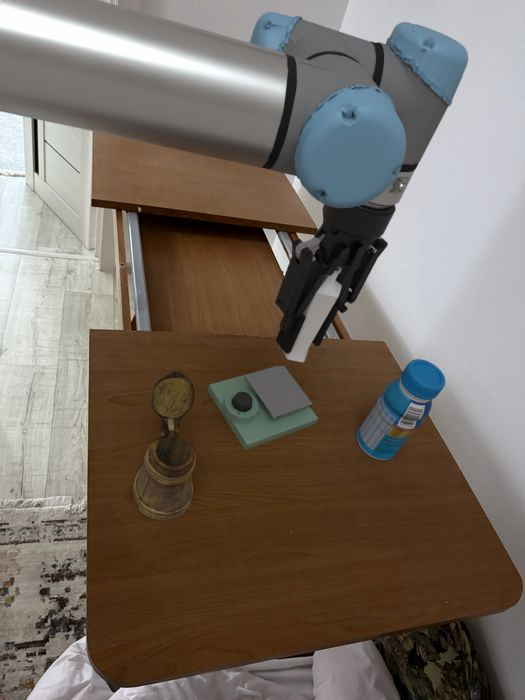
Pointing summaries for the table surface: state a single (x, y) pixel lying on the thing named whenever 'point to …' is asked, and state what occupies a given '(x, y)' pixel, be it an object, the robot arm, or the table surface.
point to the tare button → (242, 401)
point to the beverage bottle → (400, 409)
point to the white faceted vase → (315, 316)
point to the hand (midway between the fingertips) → (298, 342)
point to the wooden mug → (168, 454)
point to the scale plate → (278, 392)
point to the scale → (255, 414)
